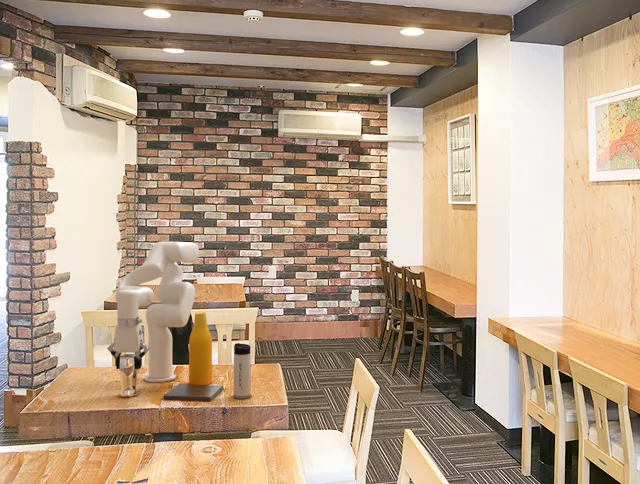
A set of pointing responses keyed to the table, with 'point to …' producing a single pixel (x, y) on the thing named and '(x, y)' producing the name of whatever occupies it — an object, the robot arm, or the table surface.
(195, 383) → the beer bottle
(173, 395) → the serving board
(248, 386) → the travel mug
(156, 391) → the table surface
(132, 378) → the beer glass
